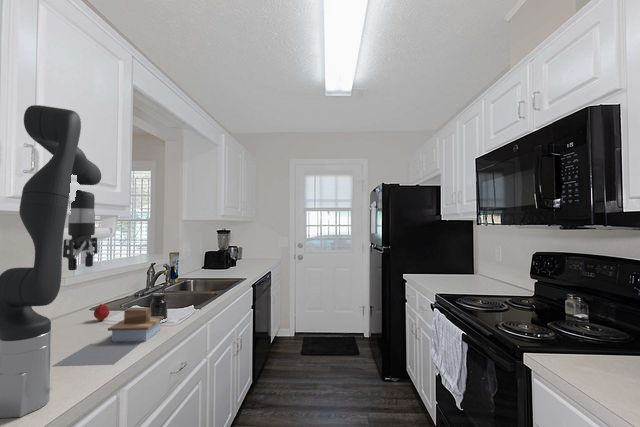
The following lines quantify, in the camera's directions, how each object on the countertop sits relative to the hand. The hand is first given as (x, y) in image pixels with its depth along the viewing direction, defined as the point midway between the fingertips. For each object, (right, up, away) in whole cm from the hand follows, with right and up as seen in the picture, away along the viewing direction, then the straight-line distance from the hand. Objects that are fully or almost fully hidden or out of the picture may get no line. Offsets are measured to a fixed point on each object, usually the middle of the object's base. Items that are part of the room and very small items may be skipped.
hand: (81, 268), depth 112 cm
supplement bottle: (+12, -29, +30) cm, 44 cm away
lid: (+13, -23, +11) cm, 29 cm away
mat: (+10, -28, -5) cm, 30 cm away
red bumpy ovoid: (-14, -29, +31) cm, 45 cm away
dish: (+13, -28, +11) cm, 33 cm away
